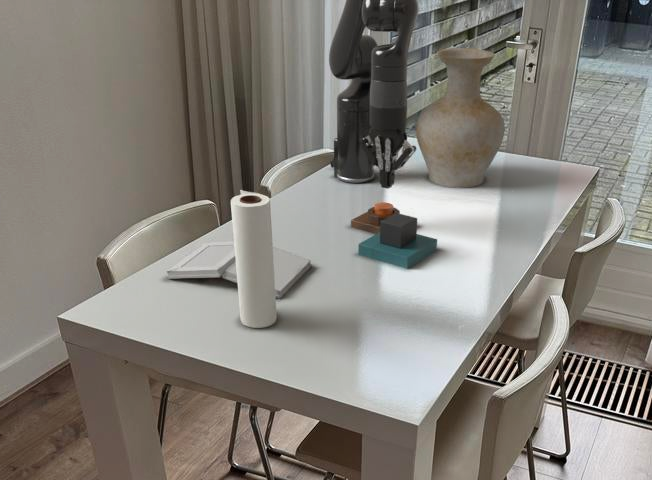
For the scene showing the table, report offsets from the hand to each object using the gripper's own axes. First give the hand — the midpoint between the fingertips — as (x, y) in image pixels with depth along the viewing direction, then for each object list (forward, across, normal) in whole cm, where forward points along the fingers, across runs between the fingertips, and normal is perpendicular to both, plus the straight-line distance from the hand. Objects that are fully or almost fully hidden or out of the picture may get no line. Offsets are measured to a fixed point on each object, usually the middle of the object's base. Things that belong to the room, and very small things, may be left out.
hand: (386, 187), depth 163 cm
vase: (+9, +3, -39) cm, 40 cm away
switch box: (+9, 0, 0) cm, 9 cm away
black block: (+9, -9, +10) cm, 17 cm away
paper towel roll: (+9, -5, +48) cm, 49 cm away
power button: (+6, 0, 0) cm, 6 cm away
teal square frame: (+9, -9, +10) cm, 17 cm away
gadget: (+9, +10, +36) cm, 39 cm away
